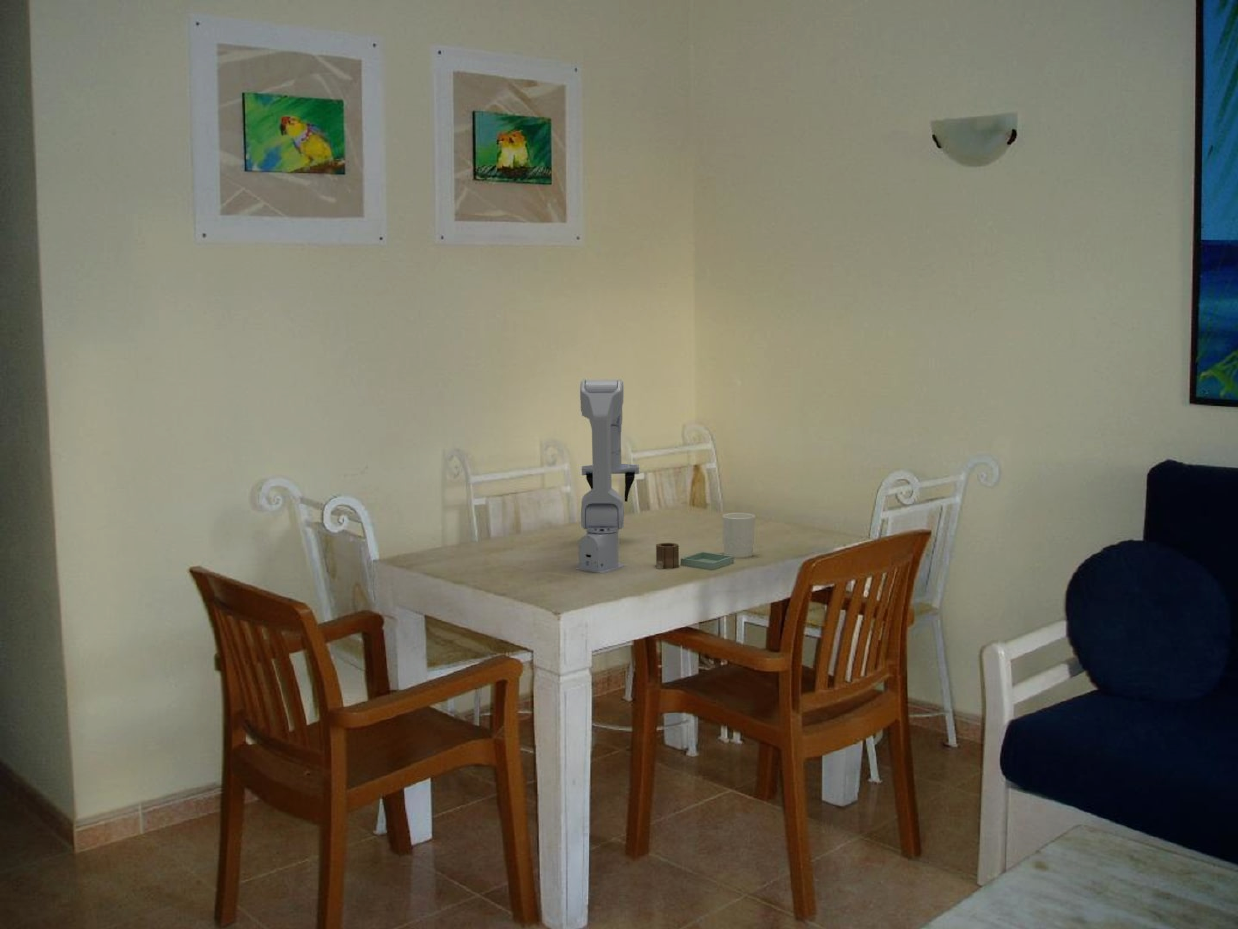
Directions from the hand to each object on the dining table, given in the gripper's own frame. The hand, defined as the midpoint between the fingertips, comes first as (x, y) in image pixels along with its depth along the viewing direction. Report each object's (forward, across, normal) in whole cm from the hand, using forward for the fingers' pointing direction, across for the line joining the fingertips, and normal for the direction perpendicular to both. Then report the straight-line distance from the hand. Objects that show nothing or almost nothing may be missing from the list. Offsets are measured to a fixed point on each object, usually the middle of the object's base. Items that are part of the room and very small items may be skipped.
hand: (611, 500), depth 329 cm
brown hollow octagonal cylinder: (+6, -13, +32) cm, 35 cm away
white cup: (+8, -31, +21) cm, 38 cm away
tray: (+6, -22, +30) cm, 38 cm away
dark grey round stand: (+6, -13, +32) cm, 35 cm away
